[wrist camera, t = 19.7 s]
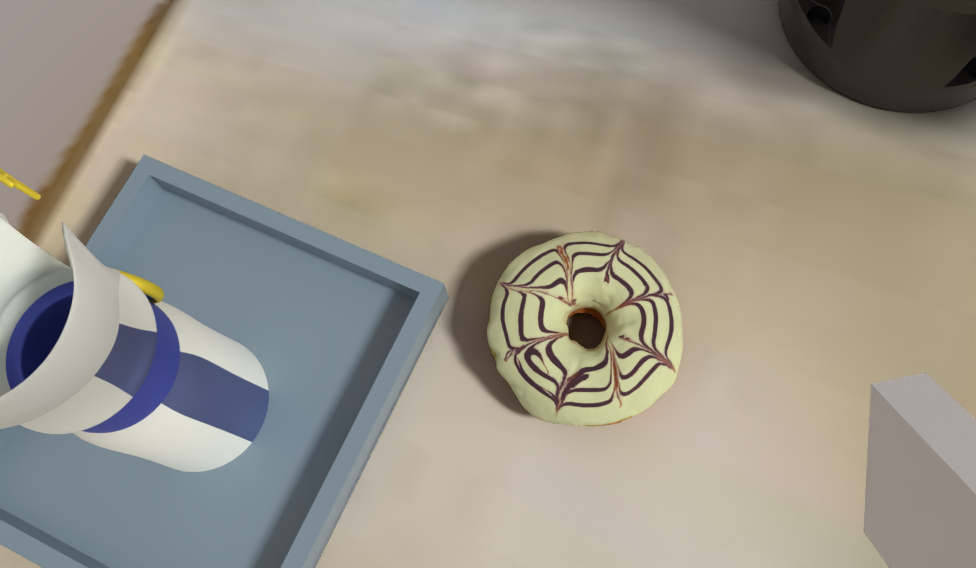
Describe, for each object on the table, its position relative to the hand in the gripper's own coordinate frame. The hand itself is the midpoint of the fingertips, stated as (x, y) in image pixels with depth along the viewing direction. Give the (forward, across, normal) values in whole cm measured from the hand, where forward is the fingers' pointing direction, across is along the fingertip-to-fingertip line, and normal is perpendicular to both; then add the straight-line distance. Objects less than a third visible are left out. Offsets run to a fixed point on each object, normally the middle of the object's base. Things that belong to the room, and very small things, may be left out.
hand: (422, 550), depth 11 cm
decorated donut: (+31, +7, -16) cm, 35 cm away
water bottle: (+30, -15, -15) cm, 37 cm away
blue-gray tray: (+31, -15, -15) cm, 38 cm away
